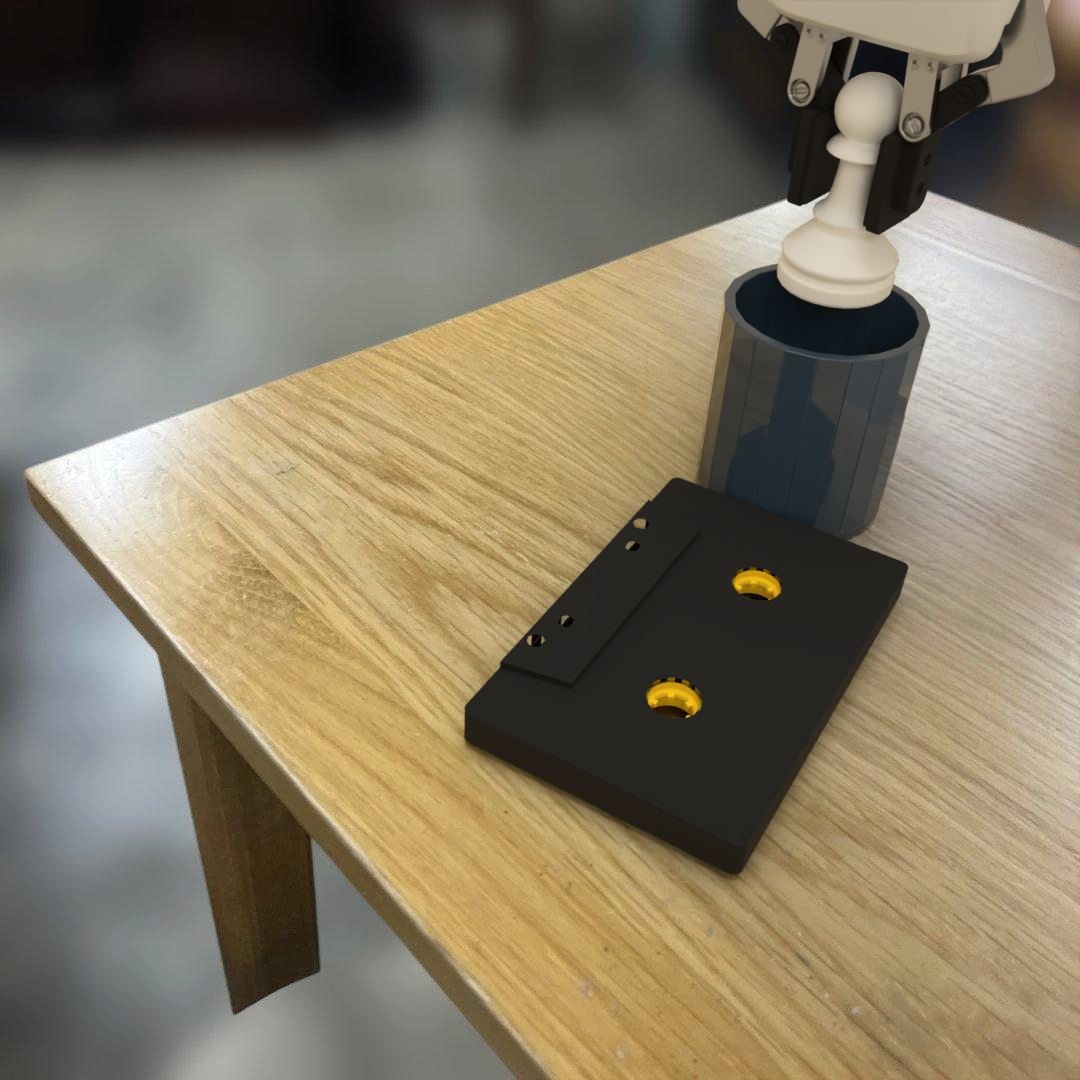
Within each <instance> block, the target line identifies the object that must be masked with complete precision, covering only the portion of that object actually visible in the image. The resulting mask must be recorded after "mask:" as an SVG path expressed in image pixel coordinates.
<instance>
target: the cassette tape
mask: <svg viewBox="0 0 1080 1080" xmlns="http://www.w3.org/2000/svg"><path fill="white" fill-rule="evenodd" d="M636 520H645V526H644V527H643V528H642V527H637V526H636V525H635V524H634V523H635V521H636ZM631 542H634V543H633V544H632V545H631V546H630V547H629V548H627V547H626V546H628V544H629V543H631ZM908 571H909V565H908V564H907V563H906V562H905V561H903V560H900V559H897V558H895V557H892V556H890V555H887V554H884V553H881V552H879V551H877V550H873V549H870V548H869V547H865V546H863V545H860V544H857V543H855V542H852V541H849V540H848V539H847V540H844V539H842V538H839V537H836V536H834V535H831V534H828V533H826V532H823V531H820V530H818V529H815V528H812V527H810V526H807V525H804V524H802V523H799V522H796V521H794V520H791V519H788V518H786V517H783V516H780V515H778V514H775V513H772V512H770V511H767V510H764V509H762V508H759V507H756V506H754V505H751V504H748V503H746V502H743V501H740V500H738V499H735V498H732V497H730V496H727V495H724V494H722V493H719V492H716V491H714V490H711V489H708V488H706V487H703V486H700V485H698V484H697V483H695V482H692V481H689V480H687V479H685V478H681V477H672V478H671V479H669V481H668V482H667V483H666V484H665V486H663V488H662V489H660V491H659V492H658V493H657V494H656V495H655V496H654V497H653V499H652V500H650V499H648V500H646V502H645V503H644V504H643V505H642V506H641V507H640V508H639V510H637V512H636V513H634V515H632V517H631V518H630V519H629V520H628V521H627V523H626V524H625V525H624V526H623V527H622V528H621V529H620V530H619V531H618V532H617V533H616V535H614V537H613V538H612V539H611V540H610V541H609V542H608V543H607V545H606V546H604V547H603V548H602V550H601V551H600V552H599V553H598V554H597V555H596V556H595V558H593V559H592V561H591V562H590V563H589V564H588V565H587V566H586V567H585V569H584V570H582V571H581V572H580V574H579V575H578V576H577V577H576V578H575V579H574V580H573V581H572V583H570V585H569V586H568V587H567V588H566V589H565V590H564V591H563V593H561V594H560V596H559V597H558V598H557V599H556V600H555V601H554V602H553V603H552V604H551V606H549V608H548V609H547V610H546V611H545V612H544V613H543V614H542V616H540V618H539V619H538V620H537V621H536V622H535V623H534V624H533V625H532V626H531V627H530V629H528V631H527V632H526V633H525V634H524V635H523V636H522V637H521V638H520V639H519V640H518V642H516V644H515V645H514V646H513V647H512V648H511V649H510V650H509V651H508V653H506V655H505V656H504V657H503V658H502V659H501V660H500V662H499V664H500V665H499V668H498V669H497V670H496V671H495V672H494V673H493V674H492V675H491V676H490V677H489V678H488V680H487V681H486V682H484V684H483V685H482V686H481V687H480V688H479V689H478V690H477V692H476V693H475V694H474V695H473V696H472V697H471V698H470V699H469V700H468V702H466V704H465V705H464V717H463V718H464V720H463V721H464V725H463V726H464V728H463V729H464V730H463V732H464V734H463V737H464V738H463V739H464V740H465V742H466V743H468V744H470V745H471V746H473V747H475V748H478V749H479V750H482V751H484V752H486V753H488V754H490V755H492V756H493V757H495V758H498V759H499V760H502V761H503V762H506V763H508V764H510V765H512V766H513V767H515V768H518V769H519V770H522V771H524V772H525V773H527V774H529V775H531V776H533V777H536V778H538V779H540V780H541V781H543V782H545V783H547V784H549V785H552V786H554V787H555V788H557V789H559V790H561V791H564V792H565V793H568V794H569V795H572V796H574V797H575V798H577V799H579V800H581V801H583V802H584V803H587V804H589V805H591V806H593V807H595V808H596V809H599V810H601V811H603V812H605V813H608V814H609V815H610V816H613V817H615V818H617V819H619V820H621V821H623V822H625V823H627V824H629V825H631V826H633V827H635V828H637V829H638V830H641V831H643V832H644V833H646V834H649V835H651V836H652V837H655V838H657V839H659V840H661V841H662V842H666V843H667V844H669V845H671V846H672V847H675V848H677V849H679V850H681V851H683V852H685V853H687V854H689V855H690V856H693V857H695V858H697V859H699V860H701V861H703V862H705V863H706V864H709V865H710V866H712V867H715V868H717V869H719V870H720V871H722V872H724V873H726V874H729V875H734V876H736V875H739V874H741V872H743V870H744V868H745V866H746V865H747V863H748V861H749V859H750V858H751V856H752V854H753V852H754V851H755V849H756V847H757V846H758V844H759V842H760V841H761V839H762V837H763V835H764V833H765V831H766V830H767V828H768V826H769V824H770V822H771V821H772V819H773V818H774V816H775V814H776V813H777V811H778V809H779V807H780V806H781V804H782V802H783V800H784V799H785V797H786V795H787V794H788V791H789V790H790V788H791V786H792V784H793V783H794V782H795V779H796V778H797V776H798V774H799V773H800V771H801V769H802V768H803V766H804V764H805V762H806V760H807V759H808V757H809V755H810V754H811V751H812V750H813V748H814V746H815V744H816V743H817V741H818V740H819V738H820V736H821V734H822V732H823V731H824V730H825V727H826V725H827V723H828V722H829V720H830V719H831V717H832V715H833V714H834V711H835V710H836V708H837V706H838V704H839V703H840V701H841V699H842V698H843V696H844V694H845V692H846V691H847V689H848V688H849V685H850V684H851V682H852V680H853V678H854V677H855V675H856V673H857V671H858V670H859V668H860V666H861V665H862V662H863V661H864V659H865V657H867V654H868V653H869V650H870V649H871V647H872V646H873V644H874V641H875V640H876V638H877V637H878V635H879V634H880V632H881V630H882V628H883V626H884V625H885V623H886V621H887V619H888V617H889V616H890V614H891V613H892V611H893V609H894V607H895V606H896V604H897V601H898V600H899V598H900V596H901V595H902V594H901V593H902V590H903V587H904V584H905V581H906V577H907V574H908ZM746 596H753V597H758V598H762V599H763V600H762V599H761V600H759V599H753V598H749V597H746ZM563 617H567V618H566V619H565V620H564V621H563ZM562 621H563V622H562ZM529 637H530V639H531V640H530V644H529V642H528V640H529ZM542 638H543V639H542ZM542 640H544V641H542ZM659 707H674V708H676V709H680V710H682V711H684V712H686V713H687V715H686V716H685V717H684V718H672V717H669V716H665V715H662V714H660V713H659V712H657V711H656V710H654V709H657V708H659Z"/></svg>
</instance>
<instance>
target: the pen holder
mask: <svg viewBox="0 0 1080 1080" xmlns="http://www.w3.org/2000/svg"><path fill="white" fill-rule="evenodd" d="M777 267H778V263H773V264H769V265H765V266H761V267H756V268H753V269H750V270H748V271H746V272H745V273H743V274H741V275H739V276H737V277H736V278H734V279H733V280H732V281H731V283H730V284H729V286H728V287H727V289H726V290H725V291H724V294H723V299H722V306H721V312H720V319H719V325H718V331H717V338H716V344H715V349H714V350H715V351H714V356H713V364H712V370H711V376H710V383H709V389H708V396H707V402H706V407H705V413H704V420H703V426H702V427H703V428H702V434H701V440H700V447H699V453H698V459H697V470H696V480H695V481H696V484H698V485H700V486H703V487H706V488H708V489H711V490H714V491H716V492H719V493H722V494H724V495H727V496H730V497H732V498H735V499H738V500H740V501H743V502H746V503H748V504H751V505H754V506H756V507H759V508H762V509H764V510H767V511H770V512H772V513H775V514H778V515H780V516H783V517H786V518H788V519H791V520H794V521H796V522H799V523H802V524H804V525H807V526H810V527H812V528H815V529H818V530H820V531H823V532H826V533H828V534H831V535H834V536H836V537H839V538H842V539H844V540H847V541H848V540H850V539H852V538H855V537H856V536H858V535H860V534H861V533H864V531H866V530H867V529H868V528H869V527H870V526H871V525H872V523H874V521H875V520H876V518H877V516H878V514H879V510H880V506H881V503H882V500H883V498H884V495H885V491H886V488H887V484H888V480H889V477H890V473H891V470H892V467H893V466H892V465H893V462H894V458H895V455H896V451H897V448H898V445H899V442H900V441H899V440H900V437H901V433H902V430H903V426H904V423H905V419H906V416H907V412H908V408H909V406H910V401H911V398H912V395H913V391H914V387H915V384H916V380H917V377H918V373H919V370H920V365H921V363H922V359H923V355H924V351H925V348H926V344H927V340H928V337H929V334H930V330H931V322H930V319H929V316H928V313H927V311H926V309H925V307H924V306H923V305H921V303H920V302H919V301H918V300H917V299H916V298H915V297H914V296H913V295H912V294H911V293H909V292H908V291H906V290H904V289H903V288H901V287H899V286H898V285H896V284H893V287H892V290H891V292H890V295H889V296H888V297H887V298H885V299H884V300H883V301H882V302H880V303H877V304H874V305H872V306H868V307H862V308H849V309H843V308H833V307H826V306H822V305H817V304H814V303H811V302H808V301H805V300H803V299H800V298H799V297H797V296H795V295H793V294H791V293H790V292H789V291H788V290H786V289H785V288H784V287H783V286H782V285H781V283H780V281H779V279H778V277H777Z"/></svg>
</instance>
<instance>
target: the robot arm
mask: <svg viewBox="0 0 1080 1080" xmlns="http://www.w3.org/2000/svg"><path fill="white" fill-rule="evenodd" d="M1051 1H1052V0H737V3H736V5H737V10H738V11H739V13H740V14H741V16H742V17H744V19H745V20H746V21H747V22H748V23H749V24H750V25H751V26H752V27H753V28H754V29H755V30H756V31H757V32H758V34H760V36H762V37H763V38H764V39H766V40H768V41H769V46H770V48H771V51H772V52H773V54H774V56H775V58H776V60H777V62H778V63H779V65H780V67H781V69H782V71H783V73H784V76H786V79H787V80H788V84H787V96H788V100H789V101H790V102H791V103H792V105H793V106H796V113H795V119H794V124H793V131H792V136H791V141H790V147H789V152H788V159H787V166H786V168H787V172H788V173H789V174H790V180H789V183H788V184H789V185H788V190H787V194H786V195H787V196H786V201H787V203H788V204H792V205H794V206H796V207H802V206H805V205H808V204H810V203H812V202H813V201H815V200H817V199H819V198H820V197H821V198H822V196H824V195H827V194H829V192H830V190H831V187H832V185H833V182H834V179H835V176H836V173H837V170H838V167H839V163H840V159H839V158H837V157H835V156H834V155H832V154H831V153H829V151H828V150H827V147H826V145H827V143H828V141H829V140H830V139H831V138H832V137H833V136H835V135H837V134H838V133H840V132H841V131H840V130H839V128H838V126H837V124H836V120H835V114H834V108H835V102H836V99H837V96H838V94H839V92H840V91H841V89H842V88H843V86H844V85H845V84H846V83H847V82H848V81H849V77H850V75H851V70H852V68H853V64H854V61H855V58H856V54H857V50H858V48H859V47H858V46H859V43H860V40H861V41H865V42H868V43H871V44H874V45H875V44H876V45H879V46H883V47H886V48H890V49H893V50H897V51H901V52H905V53H908V55H907V62H906V63H907V64H906V70H905V78H904V84H903V89H904V91H903V98H902V105H901V112H900V117H899V120H898V124H897V128H896V131H894V132H892V133H890V134H888V135H886V136H885V137H884V138H883V139H882V141H881V144H880V148H879V153H878V157H877V162H876V166H875V171H874V175H873V180H872V184H871V189H870V193H869V198H868V202H867V207H866V211H865V216H864V220H863V226H864V227H865V228H866V231H868V232H871V233H874V234H876V235H880V234H882V233H883V234H884V233H885V232H886V231H888V230H890V229H891V228H894V227H895V226H896V225H898V224H900V223H902V222H903V221H905V220H906V219H908V218H909V217H910V216H911V215H913V214H915V213H916V212H918V211H919V209H921V207H922V206H923V204H924V202H925V201H926V197H927V194H928V191H929V186H930V182H931V178H932V174H933V171H934V166H935V163H936V159H937V155H938V151H939V147H940V143H941V139H942V135H943V131H944V129H945V128H947V127H948V126H951V125H952V124H954V123H955V122H957V121H958V120H960V119H962V118H963V117H966V116H967V115H968V114H970V113H971V112H973V111H975V110H976V109H978V108H980V107H983V106H988V105H994V104H997V103H998V104H999V103H1003V102H1006V101H1010V100H1014V99H1018V98H1022V97H1027V96H1030V95H1033V94H1035V93H1037V92H1039V91H1040V90H1042V89H1044V88H1046V87H1048V86H1050V85H1051V84H1052V82H1053V81H1054V79H1055V77H1056V68H1055V61H1054V56H1053V49H1052V44H1051V37H1050V31H1049V27H1048V21H1047V13H1048V10H1049V7H1050V4H1051ZM999 43H1000V45H1001V51H1002V57H1001V60H1000V62H999V63H998V64H994V65H991V66H988V67H987V66H985V67H981V68H979V69H977V70H975V71H973V72H971V73H969V74H968V70H969V66H970V65H969V64H973V63H977V62H980V61H983V60H986V59H987V58H989V57H990V56H991V55H993V53H994V52H995V50H996V49H997V47H998V46H999Z"/></svg>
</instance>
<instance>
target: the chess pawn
mask: <svg viewBox="0 0 1080 1080" xmlns="http://www.w3.org/2000/svg"><path fill="white" fill-rule="evenodd" d="M903 91H904V86H903V85H902V84H901V83H900V82H899V81H898V80H897V79H896V78H895V77H893V76H892V75H889V74H887V73H883V72H878V71H868V72H863V73H860V74H858V75H856V76H854V77H852V78H851V79H848V82H847V83H846V84H845V85H844V86H843V88H842V89H841V91H840V92H839V94H838V96H837V99H836V102H835V108H834V114H835V120H836V124H837V126H838V128H839V130H840V131H841V132H840V133H838V134H837V135H835V136H833V137H832V138H831V139H830V140H829V141H828V143H827V145H826V147H827V150H828V151H829V153H831V154H832V155H834V156H835V157H837V158H839V159H840V163H839V167H838V170H837V173H836V176H835V179H834V182H833V185H832V187H831V190H830V192H828V193H827V196H826V197H824V198H821V199H820V200H818V201H817V202H816V203H815V204H814V206H813V207H812V214H813V217H812V218H810V219H809V220H808V221H806V222H804V223H803V224H801V225H799V226H797V227H796V228H794V229H793V230H792V231H790V232H789V233H787V234H786V235H785V236H784V238H783V240H782V241H781V245H780V246H781V254H780V256H779V258H778V263H777V264H778V267H777V277H778V279H779V281H780V283H781V285H782V286H783V287H784V288H785V289H786V290H788V291H789V292H790V293H791V294H793V295H795V296H797V297H799V298H800V299H803V300H805V301H808V302H811V303H814V304H817V305H822V306H826V307H833V308H843V309H849V308H862V307H868V306H872V305H874V304H877V303H880V302H882V301H883V300H884V299H885V298H887V297H888V296H889V295H890V292H891V290H892V287H893V284H894V283H895V280H896V274H895V272H896V270H897V268H898V266H899V263H900V258H899V252H898V250H897V249H896V248H895V246H894V245H893V244H892V243H891V241H890V240H889V239H888V238H887V236H886V235H885V234H884V232H883V233H882V234H880V235H876V234H874V233H871V232H868V231H866V228H865V227H864V226H863V220H864V216H865V211H866V207H867V202H868V198H869V193H870V189H871V184H872V180H873V175H874V171H875V166H876V162H877V157H878V153H879V148H880V144H881V141H882V139H883V138H884V137H885V136H886V135H888V134H890V133H892V132H894V131H896V128H897V124H898V120H899V117H900V112H901V105H902V98H903ZM894 285H895V284H894Z"/></svg>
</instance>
